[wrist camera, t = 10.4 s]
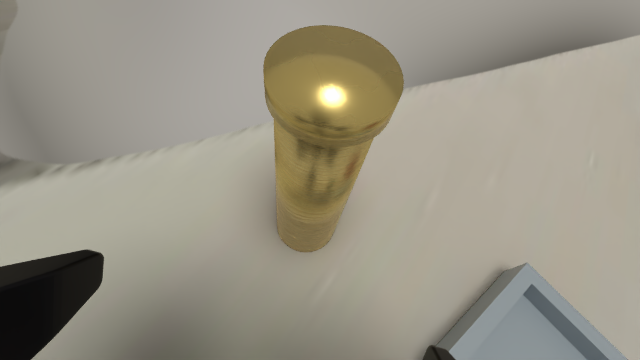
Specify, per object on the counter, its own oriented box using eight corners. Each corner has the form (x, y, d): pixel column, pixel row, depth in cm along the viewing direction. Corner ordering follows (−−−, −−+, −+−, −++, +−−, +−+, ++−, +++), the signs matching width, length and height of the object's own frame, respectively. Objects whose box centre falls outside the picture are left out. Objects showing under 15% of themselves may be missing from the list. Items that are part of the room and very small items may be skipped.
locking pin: (299, 270, 22) (323, 151, 9) (260, 217, 24) (235, 53, 11) (351, 230, 24) (431, 86, 11) (311, 184, 26) (342, 11, 13)
